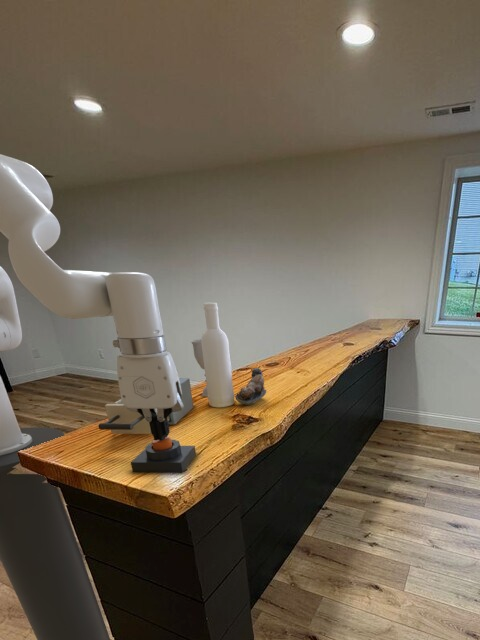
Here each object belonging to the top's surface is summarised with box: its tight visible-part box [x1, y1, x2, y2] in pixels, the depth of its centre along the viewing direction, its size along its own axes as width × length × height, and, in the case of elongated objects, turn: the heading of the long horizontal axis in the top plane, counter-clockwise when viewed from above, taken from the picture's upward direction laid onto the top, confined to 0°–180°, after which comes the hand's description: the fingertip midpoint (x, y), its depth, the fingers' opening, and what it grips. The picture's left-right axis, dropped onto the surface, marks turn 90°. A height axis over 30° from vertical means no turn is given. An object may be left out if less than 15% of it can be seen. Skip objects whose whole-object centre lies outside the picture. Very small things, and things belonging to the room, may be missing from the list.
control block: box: [130, 439, 197, 473], centre depth 72 cm, size 10×8×4 cm
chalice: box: [190, 339, 208, 398], centre depth 116 cm, size 7×7×18 cm
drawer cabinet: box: [168, 377, 194, 426], centre depth 98 cm, size 15×13×9 cm
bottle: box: [201, 302, 235, 408], centre depth 104 cm, size 8×8×30 cm
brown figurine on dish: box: [234, 367, 267, 406], centre depth 110 cm, size 12×7×10 cm, turn 160°
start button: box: [151, 436, 172, 450], centre depth 71 cm, size 4×4×2 cm
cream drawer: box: [98, 398, 171, 435], centre depth 86 cm, size 21×11×7 cm, turn 0°
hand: (161, 437), depth 71 cm, fingers closed
